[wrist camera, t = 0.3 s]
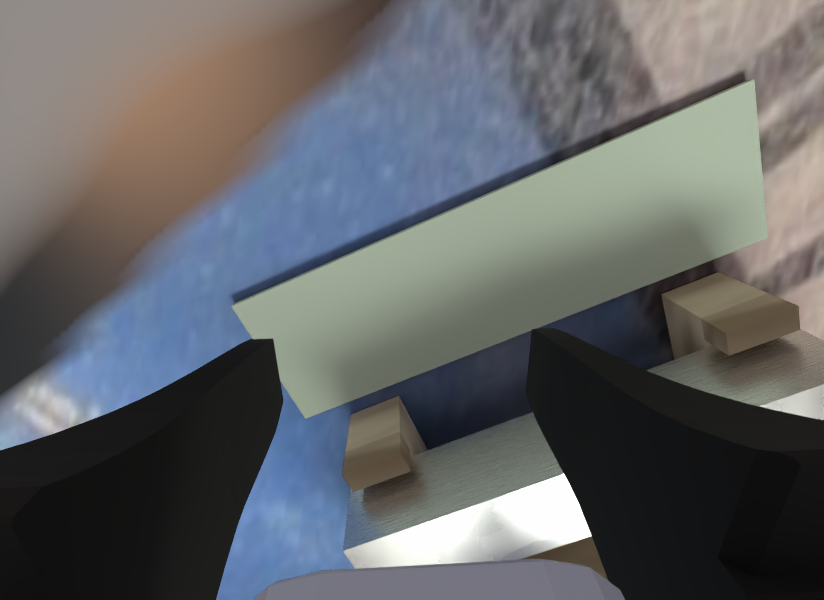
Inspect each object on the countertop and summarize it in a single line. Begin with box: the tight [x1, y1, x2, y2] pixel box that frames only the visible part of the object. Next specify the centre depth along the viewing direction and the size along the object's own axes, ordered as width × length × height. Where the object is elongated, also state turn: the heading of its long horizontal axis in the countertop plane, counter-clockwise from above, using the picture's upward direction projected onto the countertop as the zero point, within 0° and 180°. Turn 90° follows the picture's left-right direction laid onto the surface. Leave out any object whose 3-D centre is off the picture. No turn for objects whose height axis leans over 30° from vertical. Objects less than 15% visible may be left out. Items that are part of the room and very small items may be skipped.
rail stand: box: [342, 272, 800, 580], centre depth 21 cm, size 10×26×7 cm, turn 113°
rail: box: [343, 329, 824, 569], centre depth 19 cm, size 4×22×4 cm, turn 113°
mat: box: [231, 79, 768, 419], centre depth 20 cm, size 8×26×1 cm, turn 113°
